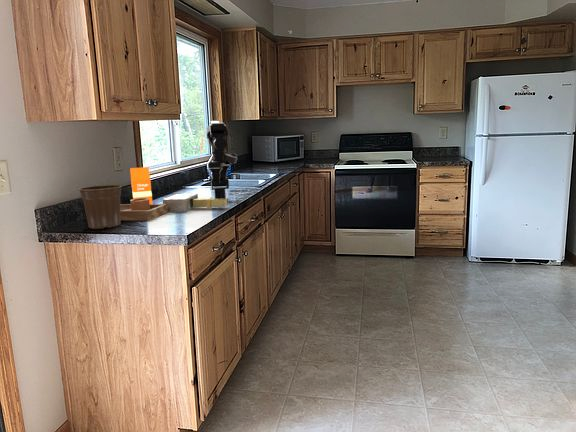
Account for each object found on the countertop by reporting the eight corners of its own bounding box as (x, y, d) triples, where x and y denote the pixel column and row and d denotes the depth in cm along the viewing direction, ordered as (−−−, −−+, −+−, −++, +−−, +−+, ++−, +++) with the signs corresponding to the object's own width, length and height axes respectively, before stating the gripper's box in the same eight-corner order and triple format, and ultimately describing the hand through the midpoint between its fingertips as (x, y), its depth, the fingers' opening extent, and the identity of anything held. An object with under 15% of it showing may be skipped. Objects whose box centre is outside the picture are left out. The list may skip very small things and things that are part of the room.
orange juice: (153, 208, 223) (149, 167, 219) (134, 209, 220) (130, 168, 216) (152, 205, 231) (148, 166, 227) (133, 207, 228) (129, 167, 224)
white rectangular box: (177, 205, 226) (176, 194, 225) (198, 205, 224) (197, 193, 223) (163, 211, 211) (162, 199, 210) (185, 211, 209) (184, 199, 208)
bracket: (142, 211, 213) (141, 197, 211) (154, 213, 208) (152, 198, 207) (109, 219, 198) (107, 204, 197) (121, 221, 194) (119, 205, 192)
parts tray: (115, 212, 214) (114, 204, 213) (167, 212, 209) (167, 204, 208) (94, 220, 197) (93, 211, 196) (150, 220, 192) (149, 211, 192)
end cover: (197, 206, 219) (196, 197, 218) (227, 206, 216) (227, 197, 215) (192, 208, 214) (192, 199, 213) (224, 208, 211) (223, 199, 210)
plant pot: (98, 222, 193) (93, 184, 190) (133, 221, 191) (129, 183, 187) (75, 230, 177) (69, 190, 174) (112, 230, 175) (107, 189, 172)
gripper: (229, 149, 207) (231, 183, 210) (240, 147, 225) (242, 178, 228) (206, 150, 209) (208, 183, 212) (219, 148, 227) (221, 179, 230)
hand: (221, 181), depth 221 cm, fingers open, 9 cm apart
